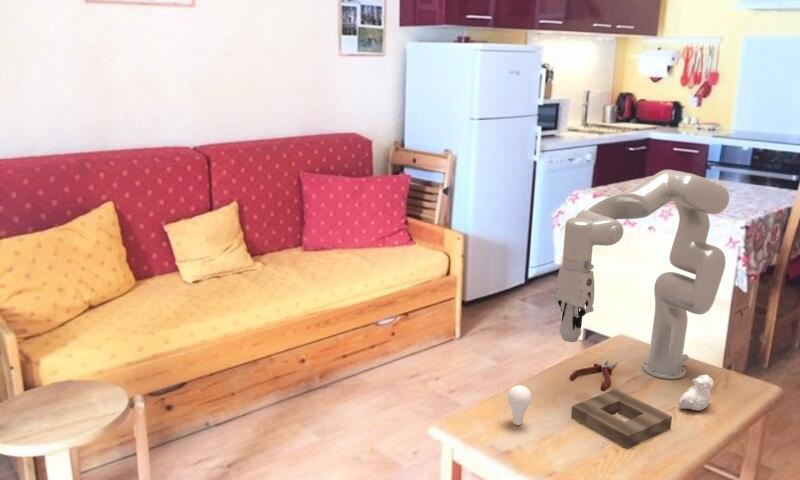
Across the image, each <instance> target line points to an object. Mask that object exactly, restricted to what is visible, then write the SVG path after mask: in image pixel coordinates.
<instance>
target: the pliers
mask: <svg viewBox="0 0 800 480" xmlns="http://www.w3.org/2000/svg"><path fill="white" fill-rule="evenodd" d="M608 362H609V359H606V360H605V361H603V362H602V363H601V364H598V363H593V366H589V367H584V368H580V369H576V370H574V371H573V372H572V373H571V374H570V376H569V380H570V381H571V382H574V380H577V378H580V377H582V376H586V375H592V374H593V375H594V374H598V373H602V374H603V378H604V381H602V382H601V384H600V388H599V389H600V391H603V392H604V391H606V390H608V388H610V387H611V383H612V379H611V375H612V373H613V368H614V367H615V366H616V365H617V364H618V363H617V362H611V363H609V364H608Z"/></svg>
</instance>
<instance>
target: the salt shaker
mask: <svg viewBox="0 0 800 480" xmlns="http://www.w3.org/2000/svg"><path fill="white" fill-rule="evenodd" d="M564 314H565V315H564V318H563V321H562V320H561V323H562V324H560V327H559V332H560V335H561V338H562V340H563V341H564V342H569V343H576V342H577V341H578V340H579V338H580V336H581V335H582V327H581V328H577V327H576V325H575V328H574V331H573V317H574V316H575V306H573V305H571V304H570V303H569V301H568V300H567V306H566V309H565V313H564Z"/></svg>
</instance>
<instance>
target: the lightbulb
mask: <svg viewBox="0 0 800 480" xmlns="http://www.w3.org/2000/svg"><path fill="white" fill-rule="evenodd" d="M531 393H532V392H531V391H530V390H529V389H528V388H527V387H526V386H525V385H519V384H518V385H514V386H513V387H511V388H510V389H509V391H508V393H507V401H508V403H509V406H510V408H511V416H512V422H513V423H512V424H514V425H515V426H520V425H522V424H523V421H524V417H525V413H526V410H527V409H528V408H529V406H530V405H531V402H532V398H533V397H532V394H531Z"/></svg>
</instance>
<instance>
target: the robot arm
mask: <svg viewBox="0 0 800 480" xmlns="http://www.w3.org/2000/svg"><path fill="white" fill-rule="evenodd" d="M670 202H673V204H674V205H675V207H676V209H677V212H678V220H679V221H678V226H677V230H676V233H675V237H674V238H673V243H672V246H671V249H670V254H669V263H670V264H671V265H672V266H673V267H674V268H677V269H679V270H681V271H684V272H687V273H690V274H693V275H695V278H692V277H690V276H688V275H684V274H682V273H678V272H673V271H666V272H664V273H661V274H659V276H657V279H655V283H654V288H653V289H654V290H653V291H654V302H655V303H654V316H653V324H652V332H651V338H650V339H651V340H650V348H649V355H648V359H646V360H644V361H643V363H642V369H643V371H644V372H645V373H647V374H649V375H651V376H653V377H656V378H659V379H664V380H680V379H682V378H684V377H685V376H686V373H687V372H686V371H687V370H686V369H685V367H684V366H683V365H682V364H683V363H684V362H685V361H688V360H689V355H688V354H687V353H684V347H685V342H686V336H687V335H686V334H687V328H688V323H689V322H688V314H687V313H688V312H689V313H692V314H695V315H704V314H706V313H708V312H709V311H710V309H711V308H712V307H713V305H714V302H715V300H716V297H717V294H718V291H719V288H720V286H721V285H720V284H721V282H722V279H723V275H724V272H725V269H726V256H725V253H724V252H723V251H722V249H721V248H719V247H717V246H715V245H712V244H709V243H707V239H708V235H709V231H710V227H711V225H710V223H711V222H710V218H709V215H718V214H720V213H722V212H724V211H725V210H726V208H727V206H729V202H730V195H729V191H728V189H727V188H726V187H725V186H724V185H722V184H720V183H717V182H714V181H711V180H709V179H707V178H705V177H702V176H700V175H697V174H695V173H694V174H693V173H690V172H685V171H680V170H674V169H663V170H660V171H659V172H657V173H655V174H654V175H652V176H651V177H649V178H647V179H646V180H645V181H643V182H642V183H640V184H639V185H637V186H636V187H634V188H633V189H631V190H629V191H626V192H621V193H619V194H618V193H617V194H614V195H610V196H607V197H603V198H601V199H598V200H596V201H594V202H593V203H591V204H589V205H588V206H586V207H585V208H583V209H582V210H581V211H580V212H578V213H577V215H576V216H575V217H572V218H569V219H567V220H566V222H565V228H564V238H563V250H562V264H561V266H560V268H559V271H558V276H557V280H556V287H555V288H556V289H555V293H554V295H553V299H554V300H555V301H556V302H557V304H558V306H559V307H560V308H559V309H560V312H561V324H562V321H563V318H564V315H565V314H564V313H565V309H566V306H567V300H568V301H569V303H570V304H571V305H573V306H575V316H574V317H573V331H574V328H575V325H576V327H577V328H581V329H582V325H583V324H582V323H583V317H584V316H585V315H586V314H590V313H592V312H594V307H593V305H594V301H595V276H594V271H593V270H594V266H595V265H594V264H592V257H593V247H594V246H603V247H604V246H606V247H607V246H612V245H615V244H617V243H618V242H620V241H621V239H622V238H623V235H624V227H623V225H622V224H621V223H620V221H619V220H637V219H643V218H647V217H649V216H651V215H652V214H653V213H655V212H656V211H658V210H659V209H660V208H662V207H663V206H666V204H668V203H670ZM561 324H560V325H561Z"/></svg>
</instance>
